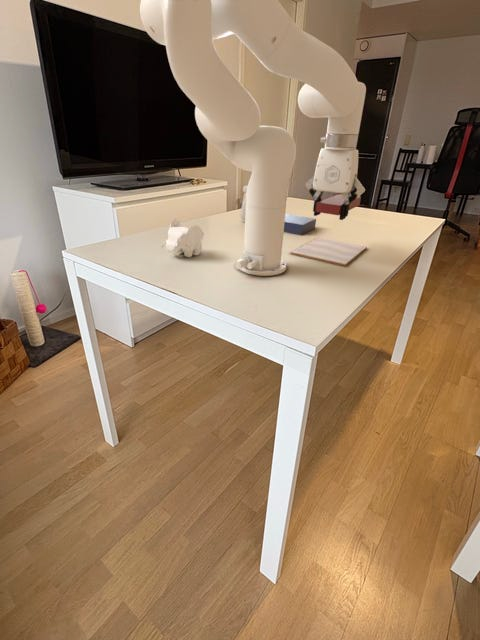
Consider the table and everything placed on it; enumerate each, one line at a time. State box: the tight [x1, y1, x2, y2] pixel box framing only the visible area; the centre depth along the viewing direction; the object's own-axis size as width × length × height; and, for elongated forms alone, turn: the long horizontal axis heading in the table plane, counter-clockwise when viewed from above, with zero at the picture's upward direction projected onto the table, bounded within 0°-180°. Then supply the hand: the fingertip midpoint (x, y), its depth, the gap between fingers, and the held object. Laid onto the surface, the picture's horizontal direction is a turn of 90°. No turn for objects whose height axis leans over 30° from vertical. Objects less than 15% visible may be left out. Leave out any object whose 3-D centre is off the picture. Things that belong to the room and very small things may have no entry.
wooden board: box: [290, 237, 367, 267], centre depth 102 cm, size 20×16×1 cm
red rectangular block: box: [316, 193, 362, 216], centre depth 96 cm, size 18×6×2 cm, turn 146°
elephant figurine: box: [160, 218, 205, 258], centre depth 92 cm, size 10×12×9 cm
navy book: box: [284, 213, 317, 236], centre depth 125 cm, size 12×17×4 cm
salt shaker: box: [239, 184, 248, 224], centre depth 128 cm, size 6×6×13 cm
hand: (329, 216), depth 93 cm, fingers closed on red rectangular block, 6 cm apart
